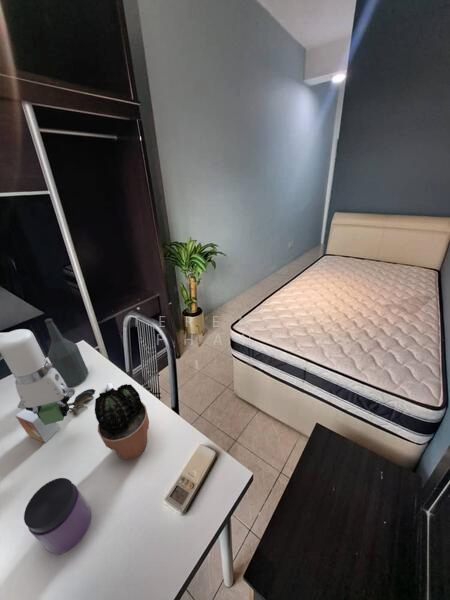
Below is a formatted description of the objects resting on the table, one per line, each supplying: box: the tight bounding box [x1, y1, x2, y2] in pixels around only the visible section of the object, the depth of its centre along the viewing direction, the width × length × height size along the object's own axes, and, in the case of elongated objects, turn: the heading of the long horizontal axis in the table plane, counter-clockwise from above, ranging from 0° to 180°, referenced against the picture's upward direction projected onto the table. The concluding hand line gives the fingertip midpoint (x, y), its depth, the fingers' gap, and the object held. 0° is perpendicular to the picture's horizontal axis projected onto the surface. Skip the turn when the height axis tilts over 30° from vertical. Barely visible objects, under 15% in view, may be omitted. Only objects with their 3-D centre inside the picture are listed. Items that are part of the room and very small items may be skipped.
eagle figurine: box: [67, 388, 96, 416], centre depth 91 cm, size 8×7×9 cm
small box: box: [15, 409, 61, 444], centre depth 81 cm, size 8×6×10 cm
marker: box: [106, 382, 115, 391], centre depth 94 cm, size 18×2×2 cm, turn 40°
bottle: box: [44, 317, 89, 388], centre depth 98 cm, size 10×10×30 cm
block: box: [39, 402, 65, 425], centre depth 75 cm, size 5×5×5 cm
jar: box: [27, 482, 92, 555], centre depth 58 cm, size 10×10×12 cm
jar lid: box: [23, 477, 77, 533], centre depth 55 cm, size 10×9×2 cm
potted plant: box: [94, 383, 150, 460], centre depth 72 cm, size 14×14×25 cm
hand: (55, 414), depth 76 cm, fingers closed on block, 5 cm apart
